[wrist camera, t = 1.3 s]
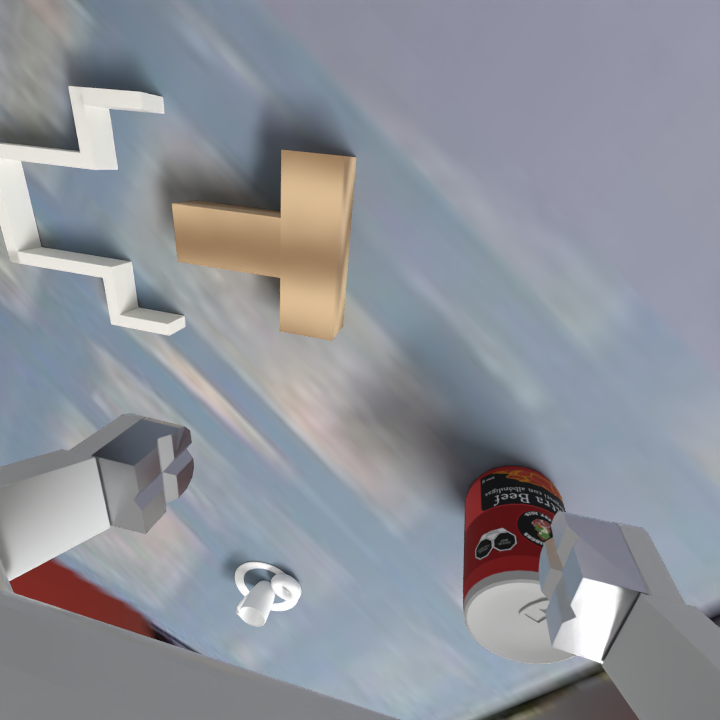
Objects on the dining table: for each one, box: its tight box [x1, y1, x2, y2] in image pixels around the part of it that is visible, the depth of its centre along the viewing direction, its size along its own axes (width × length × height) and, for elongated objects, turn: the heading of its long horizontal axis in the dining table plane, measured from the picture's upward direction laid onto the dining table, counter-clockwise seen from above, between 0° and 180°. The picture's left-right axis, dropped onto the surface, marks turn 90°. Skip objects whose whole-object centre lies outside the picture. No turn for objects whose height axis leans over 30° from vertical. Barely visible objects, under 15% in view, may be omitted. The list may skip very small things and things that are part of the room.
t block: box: [172, 150, 356, 341], centre depth 30 cm, size 12×12×3 cm
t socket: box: [0, 86, 186, 335], centre depth 33 cm, size 17×14×2 cm
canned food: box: [463, 466, 576, 664], centre depth 31 cm, size 8×8×11 cm
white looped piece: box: [235, 562, 301, 626], centre depth 47 cm, size 9×8×4 cm
